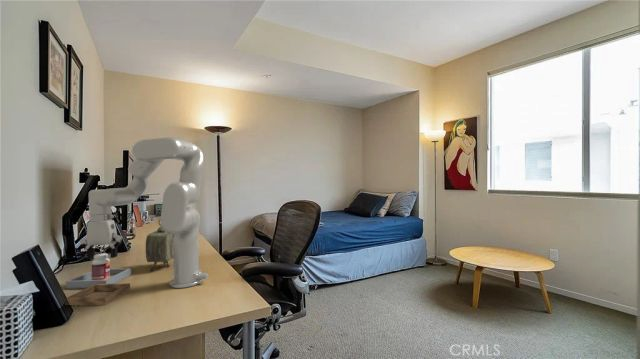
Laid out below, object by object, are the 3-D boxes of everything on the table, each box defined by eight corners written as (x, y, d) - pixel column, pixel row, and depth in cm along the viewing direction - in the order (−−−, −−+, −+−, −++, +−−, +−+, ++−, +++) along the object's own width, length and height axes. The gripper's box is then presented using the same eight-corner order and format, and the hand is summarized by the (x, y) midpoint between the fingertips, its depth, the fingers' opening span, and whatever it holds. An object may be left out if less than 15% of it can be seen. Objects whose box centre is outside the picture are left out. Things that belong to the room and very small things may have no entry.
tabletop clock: (163, 262, 147) (163, 215, 147) (180, 262, 147) (180, 215, 147) (145, 271, 132) (145, 219, 133) (164, 271, 132) (163, 219, 132)
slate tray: (130, 275, 128) (130, 268, 128) (106, 288, 112) (106, 280, 112) (95, 275, 127) (95, 269, 127) (66, 289, 112) (66, 281, 112)
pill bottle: (109, 281, 119) (109, 255, 119) (90, 284, 115) (90, 257, 116) (110, 276, 124) (110, 252, 124) (92, 279, 121) (92, 254, 121)
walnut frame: (130, 289, 110) (130, 283, 110) (105, 304, 97) (105, 297, 97) (94, 290, 110) (94, 284, 110) (64, 305, 96) (64, 298, 96)
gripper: (127, 216, 124) (128, 254, 124) (87, 218, 123) (88, 256, 123) (115, 218, 117) (117, 259, 116) (72, 220, 116) (74, 261, 116)
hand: (102, 257), depth 120 cm, fingers open, 9 cm apart
